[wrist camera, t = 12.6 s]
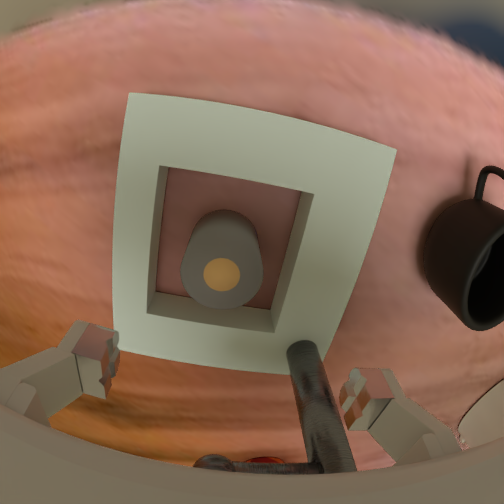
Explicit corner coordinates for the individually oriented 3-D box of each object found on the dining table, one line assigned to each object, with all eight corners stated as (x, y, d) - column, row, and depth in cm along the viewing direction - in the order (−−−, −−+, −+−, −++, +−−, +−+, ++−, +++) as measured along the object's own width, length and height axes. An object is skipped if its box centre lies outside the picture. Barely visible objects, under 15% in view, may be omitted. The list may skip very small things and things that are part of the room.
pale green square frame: (376, 145, 20) (396, 149, 17) (308, 352, 26) (315, 376, 23) (143, 96, 17) (129, 92, 15) (125, 326, 24) (115, 348, 21)
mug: (475, 284, 25) (517, 322, 18) (404, 292, 25) (446, 342, 18) (498, 164, 20) (555, 183, 14) (425, 151, 20) (488, 168, 13)
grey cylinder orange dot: (263, 216, 21) (271, 244, 17) (250, 276, 23) (254, 315, 18) (196, 204, 21) (185, 229, 16) (187, 265, 22) (176, 303, 18)
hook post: (313, 318, 25) (369, 478, 11) (304, 340, 26) (348, 496, 12) (208, 304, 24) (191, 481, 10) (204, 328, 25) (189, 498, 11)
